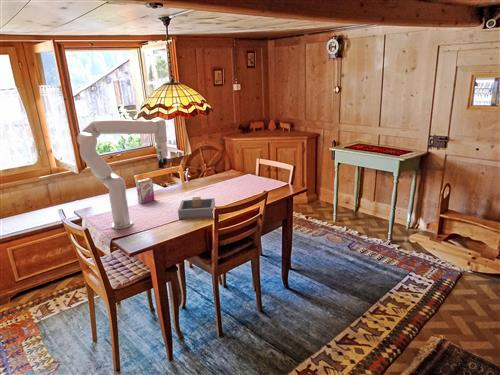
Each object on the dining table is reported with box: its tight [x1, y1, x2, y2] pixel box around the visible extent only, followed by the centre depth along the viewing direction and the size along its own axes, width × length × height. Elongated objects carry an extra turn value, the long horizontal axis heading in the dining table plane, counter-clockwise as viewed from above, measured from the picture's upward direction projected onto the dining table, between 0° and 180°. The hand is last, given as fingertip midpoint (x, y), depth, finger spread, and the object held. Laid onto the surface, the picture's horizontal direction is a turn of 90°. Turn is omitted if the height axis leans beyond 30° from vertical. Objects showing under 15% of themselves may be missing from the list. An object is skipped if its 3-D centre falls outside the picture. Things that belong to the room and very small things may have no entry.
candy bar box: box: [135, 177, 155, 205], centre depth 263 cm, size 11×5×16 cm, turn 141°
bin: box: [177, 198, 216, 220], centre depth 236 cm, size 20×22×6 cm
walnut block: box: [191, 196, 202, 209], centre depth 235 cm, size 5×5×9 cm
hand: (163, 166), depth 230 cm, fingers open, 9 cm apart
